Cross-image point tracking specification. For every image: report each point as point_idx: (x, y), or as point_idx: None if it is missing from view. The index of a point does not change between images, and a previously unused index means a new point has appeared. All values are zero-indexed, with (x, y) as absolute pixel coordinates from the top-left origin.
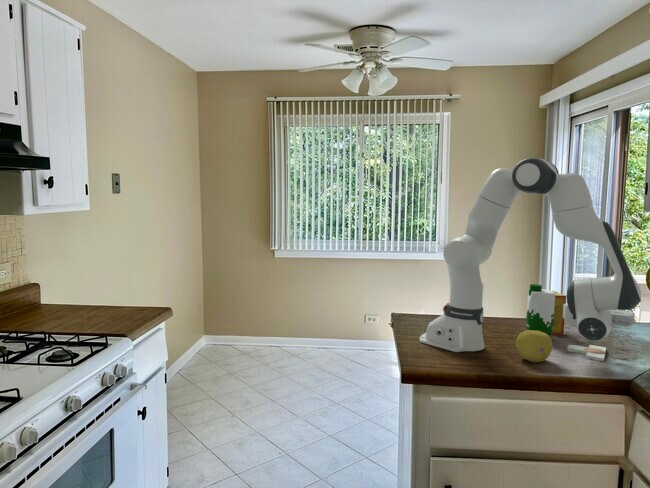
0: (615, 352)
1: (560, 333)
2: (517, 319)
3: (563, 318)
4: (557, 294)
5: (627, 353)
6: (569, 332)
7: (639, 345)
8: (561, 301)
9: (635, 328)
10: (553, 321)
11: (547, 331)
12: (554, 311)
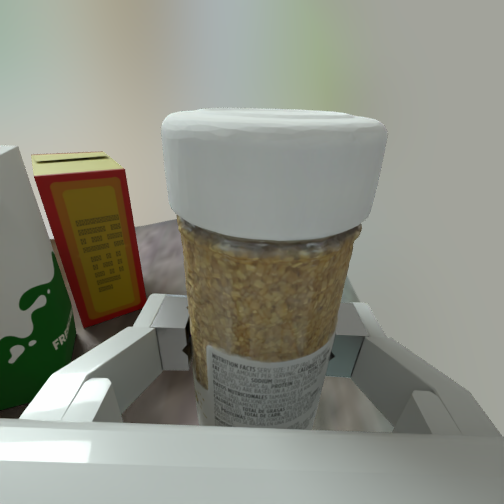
0: (316, 413)
1: (135, 305)
2: (54, 242)
3: (134, 258)
4: (90, 166)
5: (353, 399)
6: (173, 278)
7: (347, 298)
8: (108, 197)
9: None
10: (96, 278)
11: (25, 376)
12: (87, 242)
